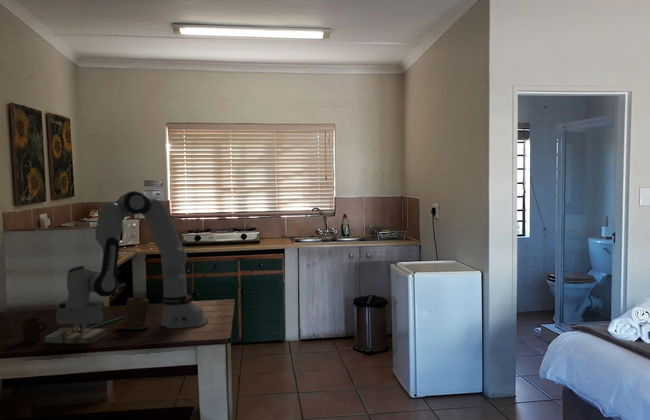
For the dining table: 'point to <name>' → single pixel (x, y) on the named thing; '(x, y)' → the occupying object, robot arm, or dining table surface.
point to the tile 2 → (65, 333)
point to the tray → (53, 336)
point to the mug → (33, 330)
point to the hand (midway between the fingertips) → (80, 333)
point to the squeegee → (106, 322)
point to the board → (85, 336)
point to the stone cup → (135, 314)
